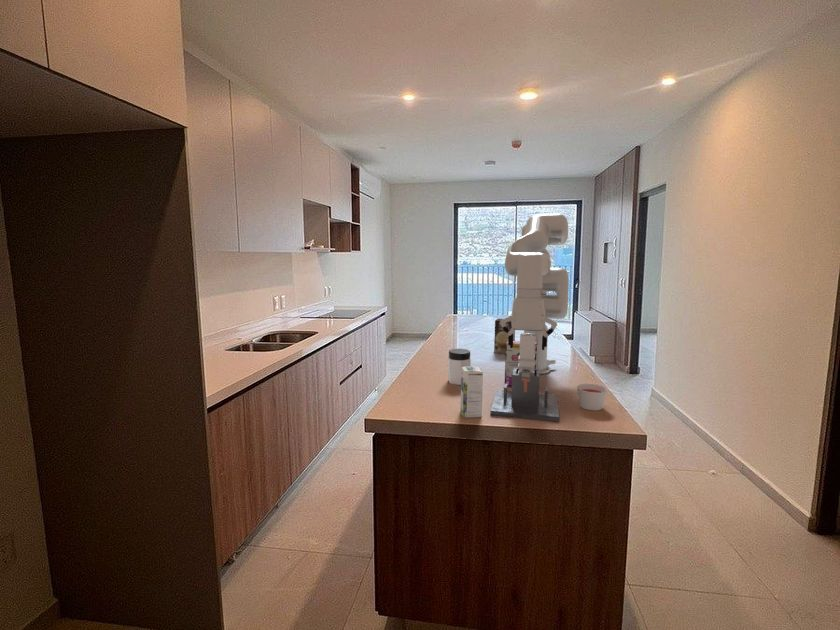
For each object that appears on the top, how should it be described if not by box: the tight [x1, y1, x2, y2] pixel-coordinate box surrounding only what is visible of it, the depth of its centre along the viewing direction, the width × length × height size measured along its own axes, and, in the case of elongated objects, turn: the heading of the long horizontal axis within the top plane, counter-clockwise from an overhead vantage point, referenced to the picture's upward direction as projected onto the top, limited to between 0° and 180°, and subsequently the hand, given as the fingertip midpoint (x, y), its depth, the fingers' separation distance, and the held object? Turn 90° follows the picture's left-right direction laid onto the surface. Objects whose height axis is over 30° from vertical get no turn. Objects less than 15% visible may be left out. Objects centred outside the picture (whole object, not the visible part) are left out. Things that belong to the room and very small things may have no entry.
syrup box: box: [460, 365, 484, 419], centre depth 132 cm, size 6×6×14 cm
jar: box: [447, 348, 472, 386], centre depth 164 cm, size 9×8×12 cm
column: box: [518, 332, 535, 375], centre depth 137 cm, size 5×5×22 cm
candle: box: [576, 383, 608, 411], centre depth 138 cm, size 9×9×6 cm
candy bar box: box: [504, 340, 538, 387], centre depth 159 cm, size 11×5×16 cm, turn 71°
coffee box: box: [493, 318, 516, 355], centre depth 209 cm, size 9×6×16 cm
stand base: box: [490, 368, 560, 423], centre depth 138 cm, size 20×20×13 cm
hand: (527, 348), depth 136 cm, fingers open, 9 cm apart
